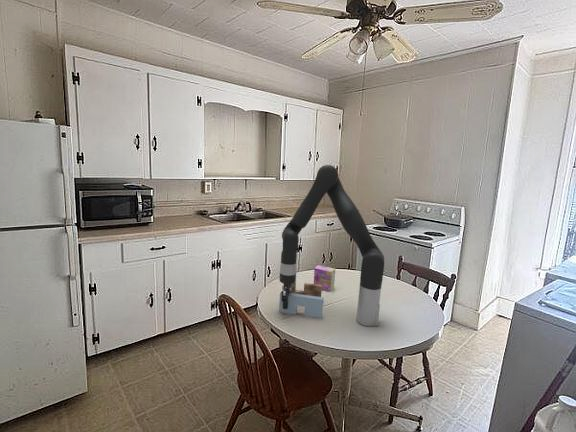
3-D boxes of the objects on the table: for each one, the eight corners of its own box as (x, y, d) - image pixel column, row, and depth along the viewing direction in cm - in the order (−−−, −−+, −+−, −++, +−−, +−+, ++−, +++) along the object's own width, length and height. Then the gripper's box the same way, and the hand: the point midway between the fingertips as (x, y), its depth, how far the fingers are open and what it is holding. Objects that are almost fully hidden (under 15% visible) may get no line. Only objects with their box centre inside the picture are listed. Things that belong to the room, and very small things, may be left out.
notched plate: (322, 315, 144) (323, 297, 142) (321, 318, 142) (323, 299, 140) (280, 309, 148) (281, 291, 146) (279, 311, 145) (279, 294, 143)
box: (312, 287, 174) (314, 267, 172) (316, 284, 179) (318, 264, 177) (330, 292, 169) (332, 271, 167) (334, 288, 174) (335, 268, 172)
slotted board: (320, 301, 158) (322, 285, 156) (320, 303, 156) (321, 286, 154) (285, 296, 161) (286, 280, 159) (285, 298, 159) (286, 282, 157)
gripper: (293, 278, 134) (291, 314, 138) (298, 267, 148) (296, 300, 151) (276, 276, 136) (274, 312, 139) (283, 265, 149) (281, 298, 153)
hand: (286, 306), depth 145 cm, fingers open, 4 cm apart
